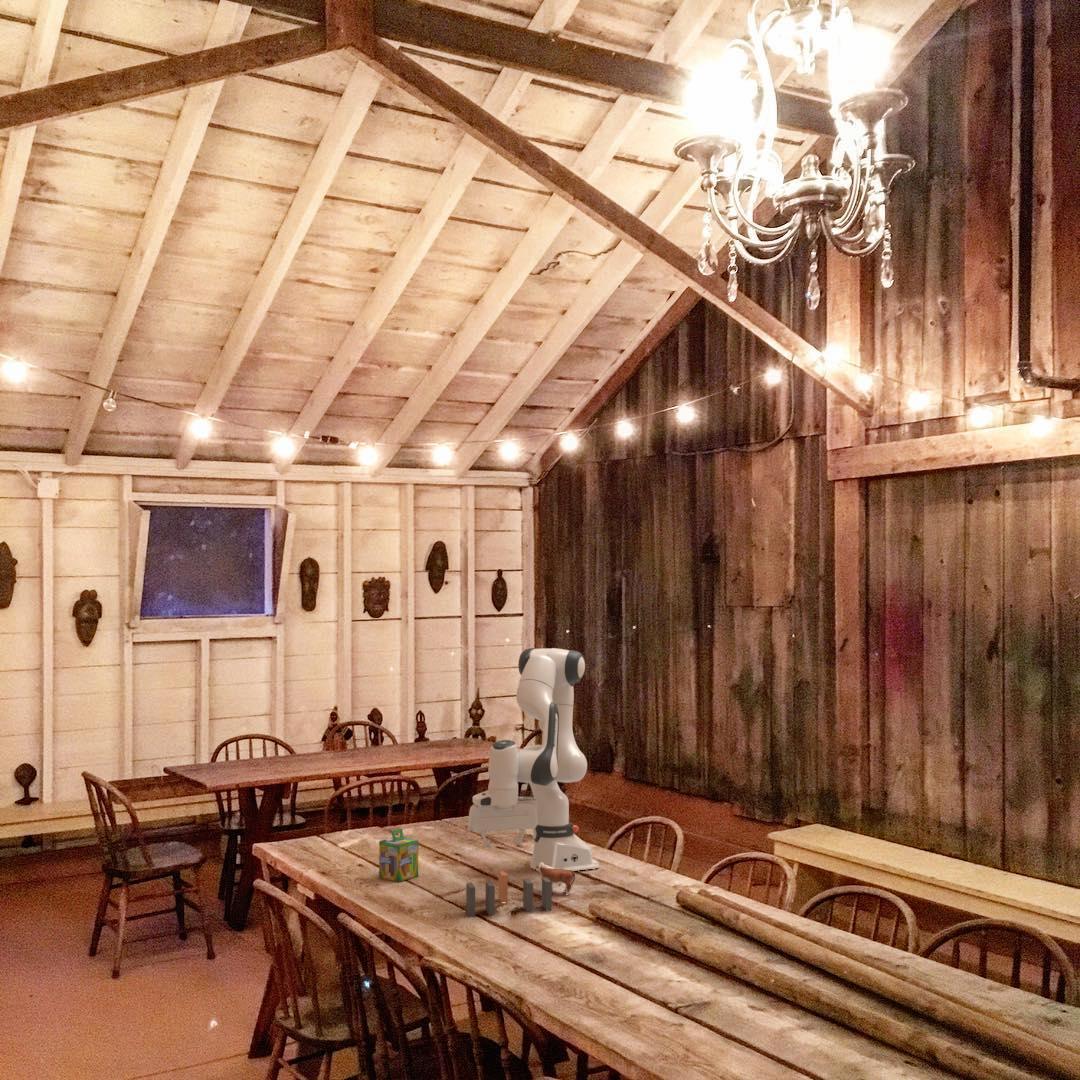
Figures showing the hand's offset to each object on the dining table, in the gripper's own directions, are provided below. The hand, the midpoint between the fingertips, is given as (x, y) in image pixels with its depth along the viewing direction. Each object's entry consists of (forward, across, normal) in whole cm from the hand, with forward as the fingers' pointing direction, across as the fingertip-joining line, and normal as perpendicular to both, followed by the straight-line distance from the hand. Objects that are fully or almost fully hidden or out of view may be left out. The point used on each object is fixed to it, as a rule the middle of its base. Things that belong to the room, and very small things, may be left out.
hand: (502, 845), depth 317 cm
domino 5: (+16, -11, +10) cm, 22 cm away
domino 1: (+16, +11, +10) cm, 22 cm away
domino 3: (+16, 0, 0) cm, 16 cm away
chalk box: (+16, +26, -33) cm, 45 cm away
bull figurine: (+16, -17, -5) cm, 24 cm away
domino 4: (+16, -5, +10) cm, 20 cm away
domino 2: (+16, +6, +10) cm, 20 cm away
